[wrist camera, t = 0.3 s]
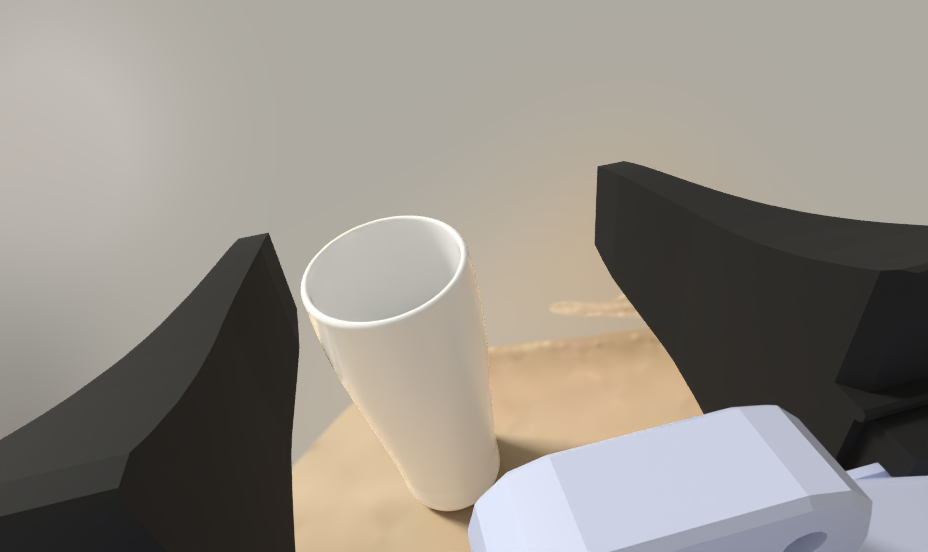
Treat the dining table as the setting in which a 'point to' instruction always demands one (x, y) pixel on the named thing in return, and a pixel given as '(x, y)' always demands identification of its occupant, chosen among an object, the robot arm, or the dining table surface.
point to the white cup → (411, 350)
